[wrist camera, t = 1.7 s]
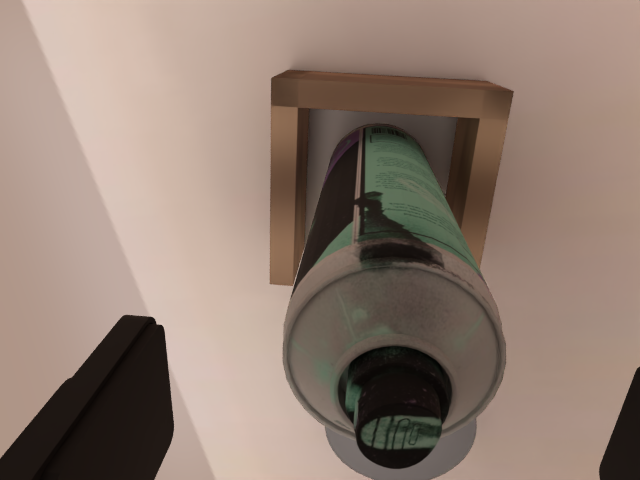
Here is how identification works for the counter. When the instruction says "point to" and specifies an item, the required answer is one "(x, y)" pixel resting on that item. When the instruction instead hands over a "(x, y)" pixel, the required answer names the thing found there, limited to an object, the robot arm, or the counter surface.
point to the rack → (386, 97)
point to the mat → (416, 476)
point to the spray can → (390, 306)
